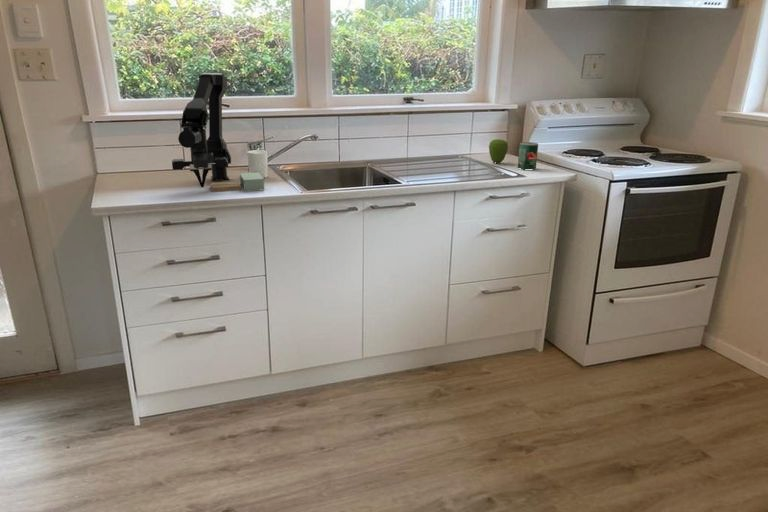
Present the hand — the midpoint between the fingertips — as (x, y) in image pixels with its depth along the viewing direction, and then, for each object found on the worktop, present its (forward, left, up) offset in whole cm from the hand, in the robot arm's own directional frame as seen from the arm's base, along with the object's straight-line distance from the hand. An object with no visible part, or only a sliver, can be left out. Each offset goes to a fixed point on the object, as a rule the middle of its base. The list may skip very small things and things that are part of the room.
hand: (202, 187), depth 210 cm
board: (0, +8, -2) cm, 8 cm away
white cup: (-18, +22, -1) cm, 29 cm away
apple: (-18, +130, -1) cm, 132 cm away
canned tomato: (-3, +136, -1) cm, 137 cm away
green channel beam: (0, +17, -1) cm, 18 cm away
